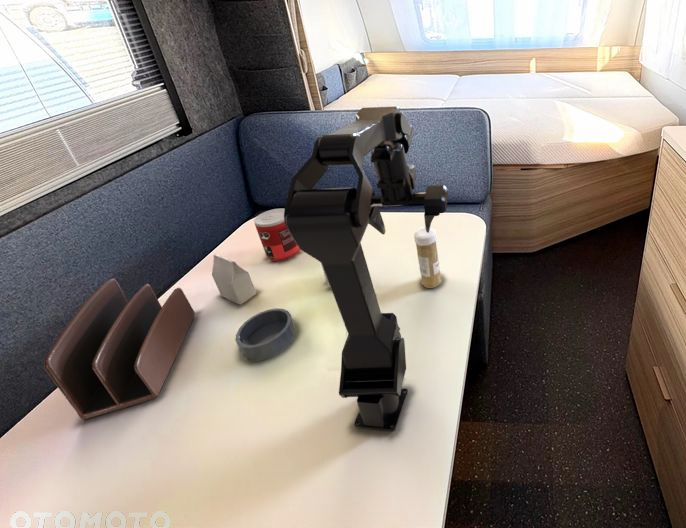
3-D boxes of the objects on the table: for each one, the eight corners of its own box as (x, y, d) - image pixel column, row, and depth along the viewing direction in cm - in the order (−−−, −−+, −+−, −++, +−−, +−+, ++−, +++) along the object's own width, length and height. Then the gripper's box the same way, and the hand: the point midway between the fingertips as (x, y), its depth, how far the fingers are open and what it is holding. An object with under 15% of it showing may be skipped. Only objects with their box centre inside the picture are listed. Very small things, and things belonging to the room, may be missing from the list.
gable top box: (240, 304, 82) (224, 267, 78) (221, 295, 85) (204, 259, 81) (256, 293, 85) (242, 257, 81) (237, 285, 88) (222, 249, 84)
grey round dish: (276, 363, 69) (271, 349, 67) (229, 359, 70) (223, 345, 69) (305, 322, 77) (301, 309, 76) (263, 320, 78) (258, 307, 77)
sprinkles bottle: (445, 283, 86) (439, 233, 80) (426, 291, 84) (418, 241, 78) (436, 272, 90) (430, 223, 84) (418, 280, 87) (410, 230, 82)
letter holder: (81, 422, 60) (32, 360, 55) (138, 328, 77) (105, 273, 71) (158, 398, 64) (119, 337, 58) (196, 313, 80) (169, 259, 74)
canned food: (268, 248, 100) (255, 212, 96) (301, 240, 103) (290, 205, 99) (265, 265, 94) (251, 228, 89) (301, 256, 97) (289, 219, 92)
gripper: (446, 146, 78) (453, 205, 87) (354, 149, 78) (371, 209, 87) (440, 177, 69) (449, 240, 78) (336, 181, 69) (357, 244, 77)
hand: (406, 232), depth 80 cm, fingers open, 9 cm apart
